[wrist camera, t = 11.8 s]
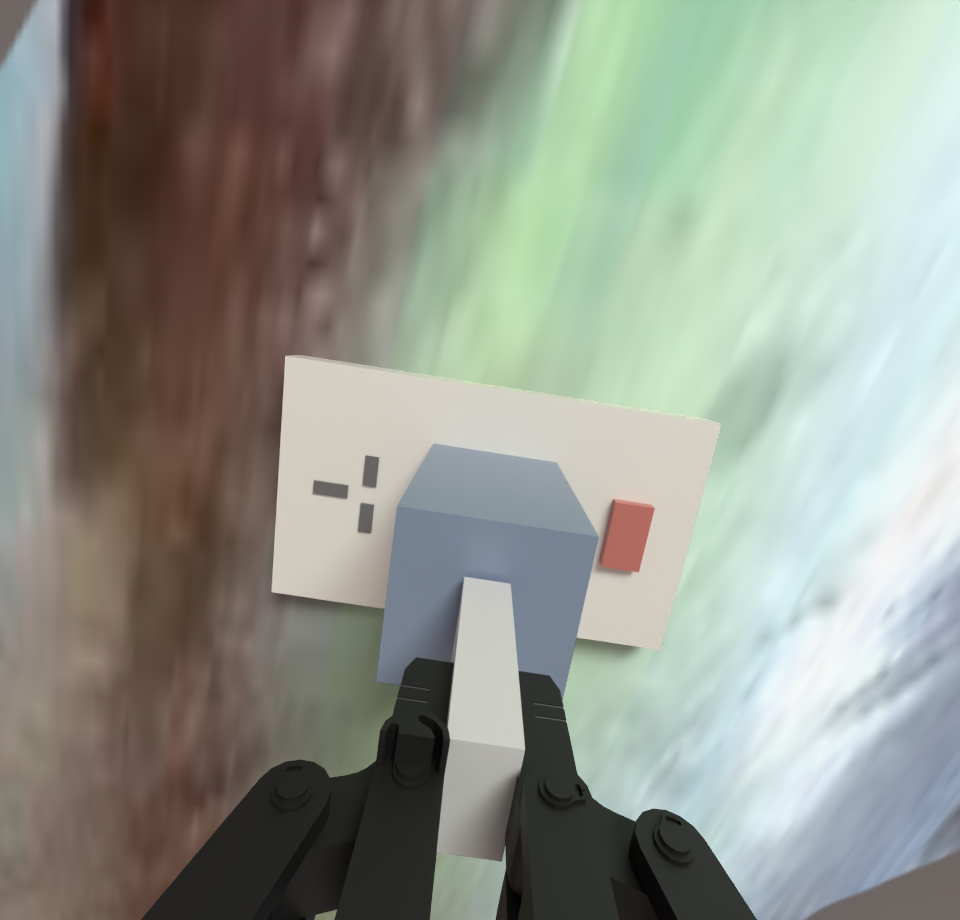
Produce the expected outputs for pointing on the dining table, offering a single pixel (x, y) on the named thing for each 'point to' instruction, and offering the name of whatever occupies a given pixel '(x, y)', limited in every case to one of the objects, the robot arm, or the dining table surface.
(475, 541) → the plug
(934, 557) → the dining table surface
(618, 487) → the socket plate
